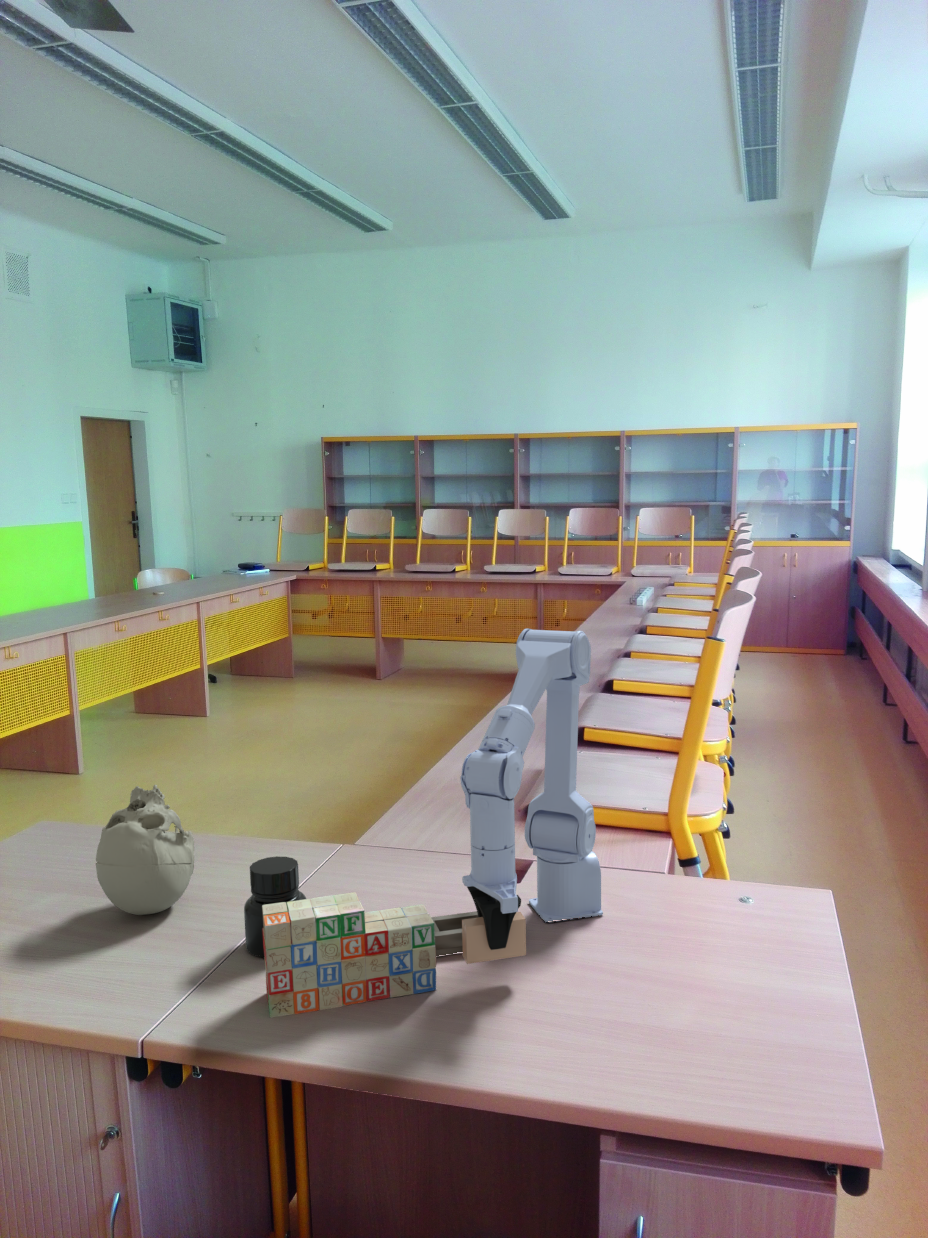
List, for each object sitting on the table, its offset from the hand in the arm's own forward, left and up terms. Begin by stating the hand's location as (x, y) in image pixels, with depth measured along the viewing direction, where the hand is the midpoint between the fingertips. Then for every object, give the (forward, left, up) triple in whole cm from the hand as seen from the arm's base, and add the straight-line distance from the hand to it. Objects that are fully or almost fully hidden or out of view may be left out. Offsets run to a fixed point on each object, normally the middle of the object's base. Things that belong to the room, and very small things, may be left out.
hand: (494, 943), depth 118 cm
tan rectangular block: (0, 0, -2) cm, 2 cm away
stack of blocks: (+19, -3, -6) cm, 20 cm away
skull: (+46, -36, -6) cm, 59 cm away
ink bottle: (+27, -19, -6) cm, 34 cm away
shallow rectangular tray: (0, -12, -5) cm, 13 cm away
